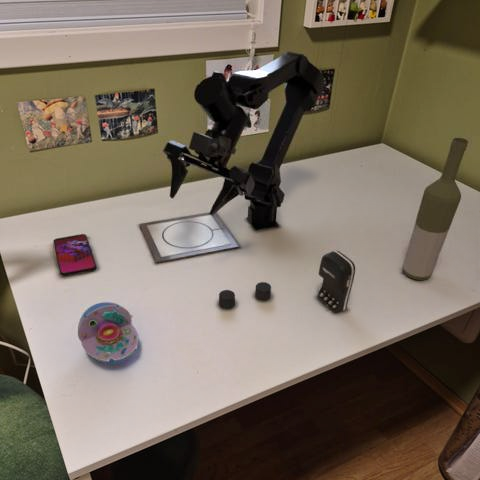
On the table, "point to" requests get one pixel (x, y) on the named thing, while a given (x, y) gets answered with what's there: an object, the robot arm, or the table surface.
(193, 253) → the board
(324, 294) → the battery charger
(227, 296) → the dot
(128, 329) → the cell model
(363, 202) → the table surface
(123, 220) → the table surface
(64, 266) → the smartphone
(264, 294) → the dot
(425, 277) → the bottle
